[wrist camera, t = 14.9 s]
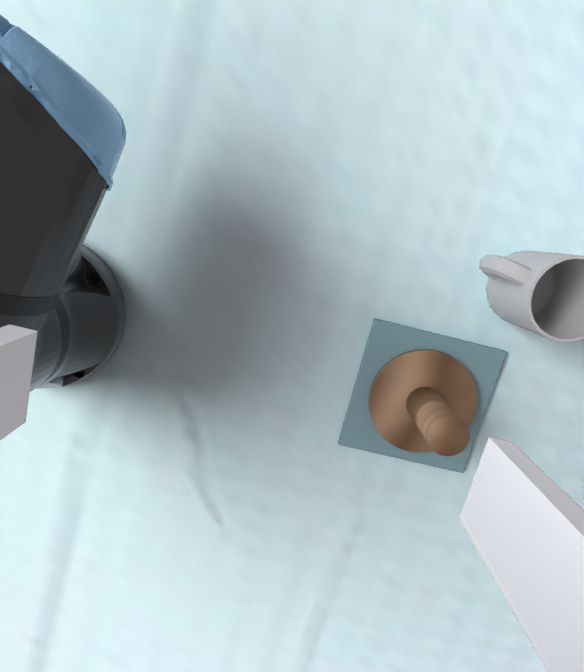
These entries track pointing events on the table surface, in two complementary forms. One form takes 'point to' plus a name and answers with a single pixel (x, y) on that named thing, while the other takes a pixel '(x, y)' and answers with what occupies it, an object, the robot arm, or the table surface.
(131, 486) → the table surface
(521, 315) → the cup
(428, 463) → the mat
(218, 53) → the table surface
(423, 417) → the lid
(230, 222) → the table surface
